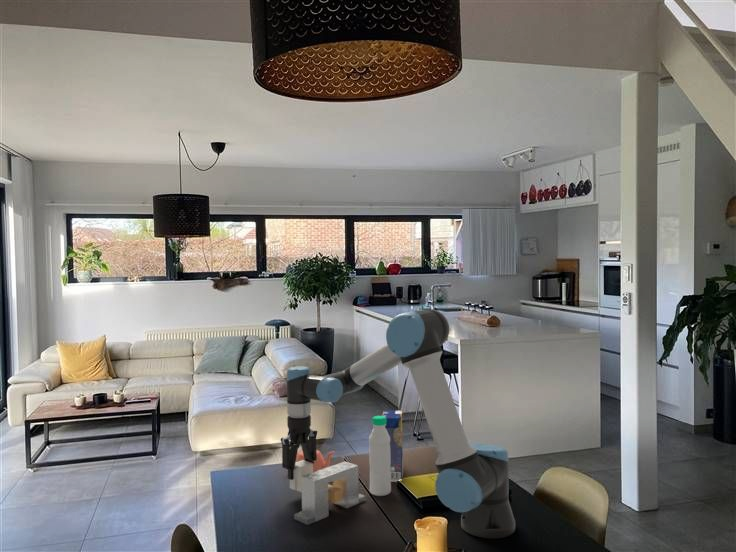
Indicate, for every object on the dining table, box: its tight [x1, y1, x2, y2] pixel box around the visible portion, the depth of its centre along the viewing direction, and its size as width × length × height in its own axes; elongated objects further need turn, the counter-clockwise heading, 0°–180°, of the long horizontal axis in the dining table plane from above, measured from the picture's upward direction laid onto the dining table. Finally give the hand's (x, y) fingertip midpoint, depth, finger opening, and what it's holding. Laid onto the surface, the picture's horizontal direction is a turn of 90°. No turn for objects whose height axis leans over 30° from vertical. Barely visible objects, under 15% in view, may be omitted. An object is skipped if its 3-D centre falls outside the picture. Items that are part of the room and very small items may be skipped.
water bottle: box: [368, 415, 392, 497], centre depth 197 cm, size 7×7×25 cm
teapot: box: [296, 449, 336, 472], centre depth 215 cm, size 12×18×10 cm
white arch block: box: [293, 461, 367, 526], centre depth 184 cm, size 6×24×12 cm, turn 136°
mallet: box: [294, 460, 342, 504], centre depth 189 cm, size 20×5×8 cm, turn 46°
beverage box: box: [381, 409, 404, 483], centre depth 212 cm, size 7×11×22 cm, turn 175°
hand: (300, 486), depth 195 cm, fingers closed on mallet, 5 cm apart
